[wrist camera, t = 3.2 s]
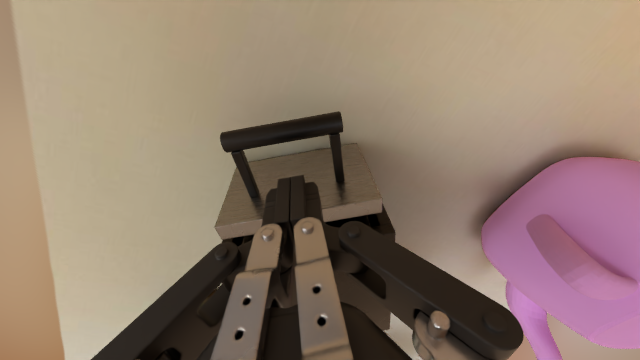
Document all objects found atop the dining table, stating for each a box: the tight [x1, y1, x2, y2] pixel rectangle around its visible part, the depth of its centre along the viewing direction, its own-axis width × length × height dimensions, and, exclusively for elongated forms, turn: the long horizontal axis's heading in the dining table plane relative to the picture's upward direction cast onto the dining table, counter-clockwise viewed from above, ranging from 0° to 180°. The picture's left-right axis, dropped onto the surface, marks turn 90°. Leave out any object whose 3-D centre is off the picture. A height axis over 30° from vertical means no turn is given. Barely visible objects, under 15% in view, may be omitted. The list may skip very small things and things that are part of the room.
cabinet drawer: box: [215, 112, 382, 244], centre depth 20 cm, size 18×10×7 cm, turn 8°
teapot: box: [481, 157, 640, 360], centre depth 24 cm, size 23×21×15 cm
